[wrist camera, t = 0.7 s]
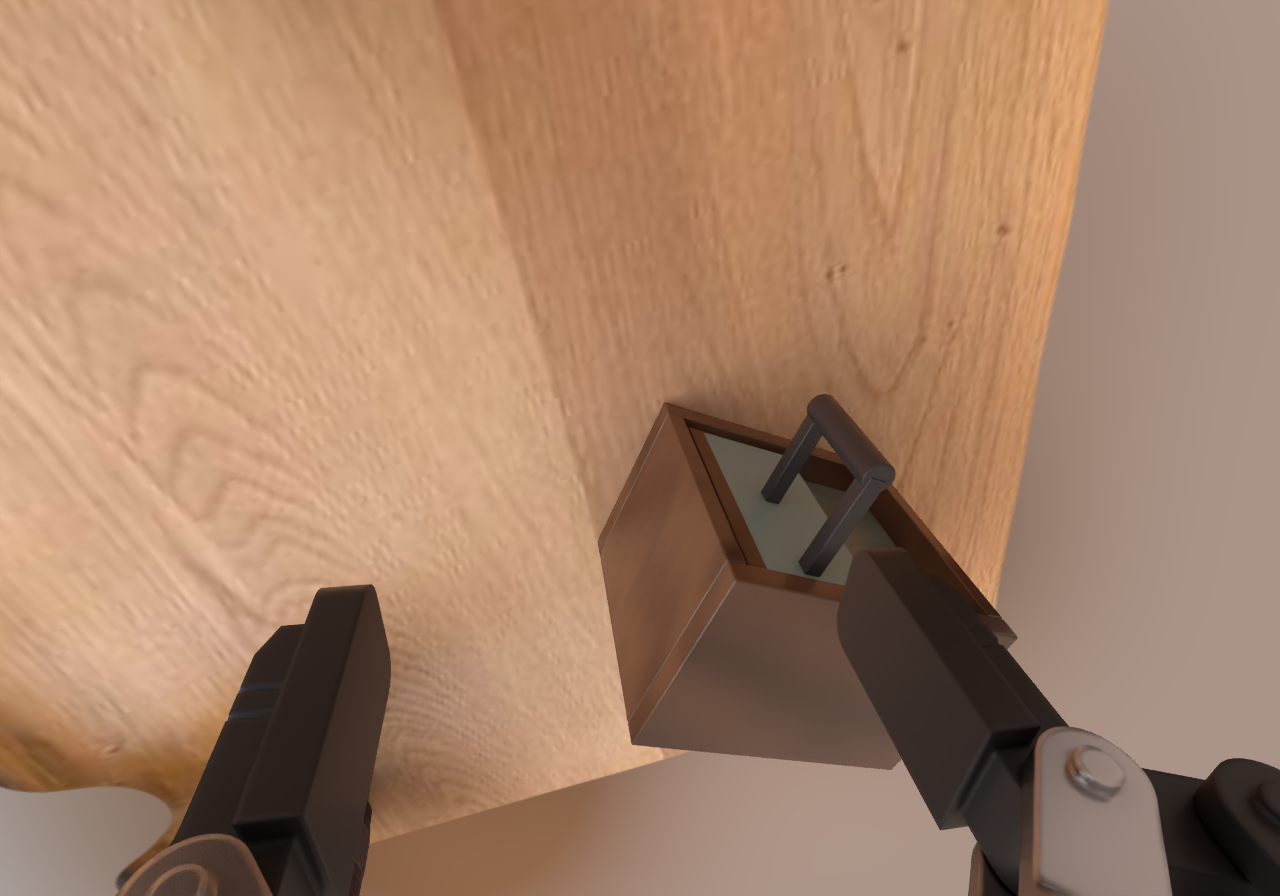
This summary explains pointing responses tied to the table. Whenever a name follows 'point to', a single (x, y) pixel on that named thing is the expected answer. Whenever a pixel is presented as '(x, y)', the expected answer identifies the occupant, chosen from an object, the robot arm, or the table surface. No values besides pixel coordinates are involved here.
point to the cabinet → (744, 612)
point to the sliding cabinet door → (795, 494)
